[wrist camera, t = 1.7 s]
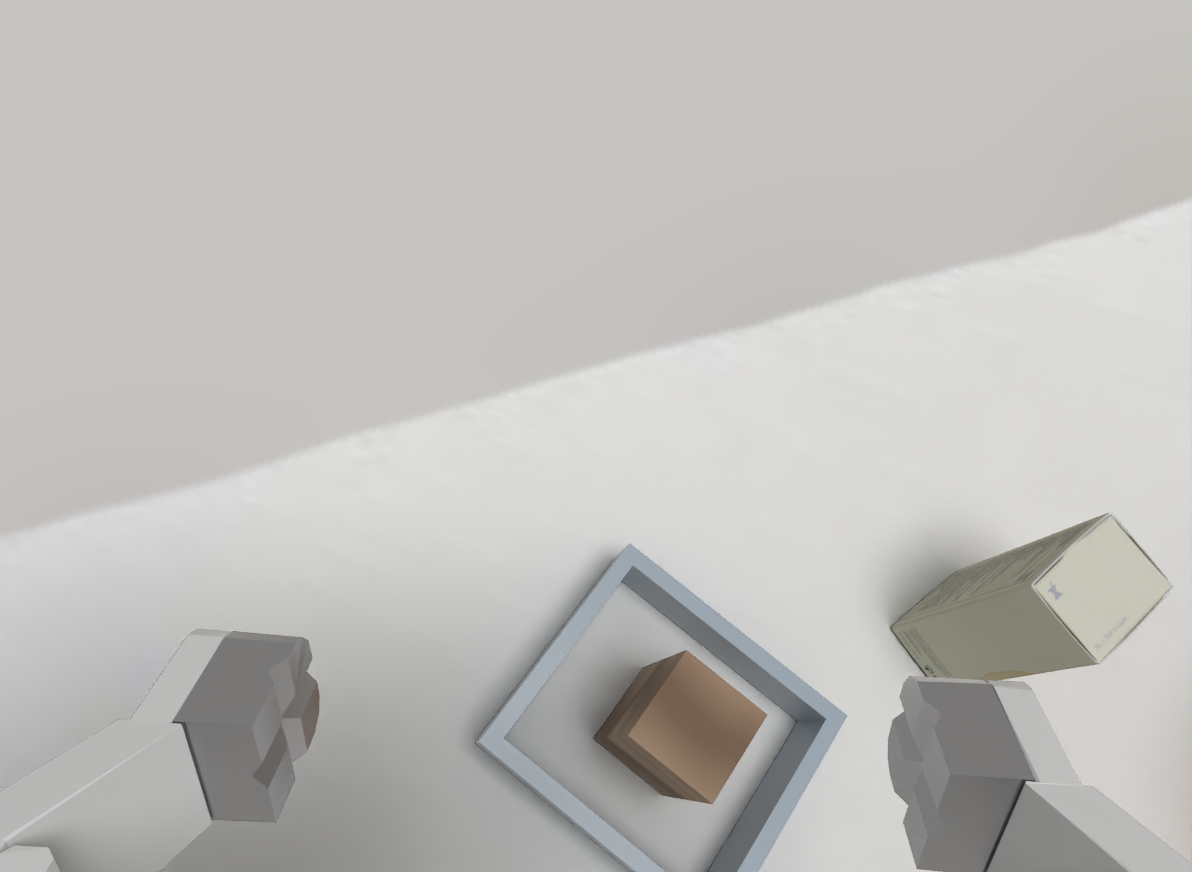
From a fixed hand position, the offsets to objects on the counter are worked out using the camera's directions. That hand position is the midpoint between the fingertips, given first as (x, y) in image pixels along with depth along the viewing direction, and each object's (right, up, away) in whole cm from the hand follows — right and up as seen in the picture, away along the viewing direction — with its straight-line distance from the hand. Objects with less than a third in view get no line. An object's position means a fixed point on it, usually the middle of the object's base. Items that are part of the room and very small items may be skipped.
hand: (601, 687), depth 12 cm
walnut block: (+3, -12, +32) cm, 34 cm away
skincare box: (+20, -7, +37) cm, 43 cm away
